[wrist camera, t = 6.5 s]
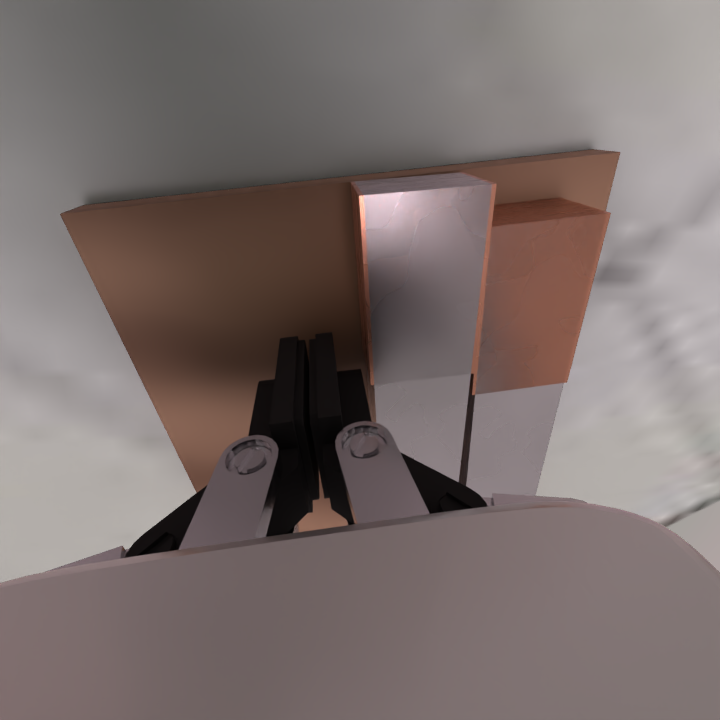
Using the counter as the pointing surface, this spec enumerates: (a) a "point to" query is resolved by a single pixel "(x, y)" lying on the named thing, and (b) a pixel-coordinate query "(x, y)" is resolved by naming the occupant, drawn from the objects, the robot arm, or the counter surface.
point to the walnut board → (260, 286)
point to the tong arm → (422, 305)
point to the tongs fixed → (527, 338)
